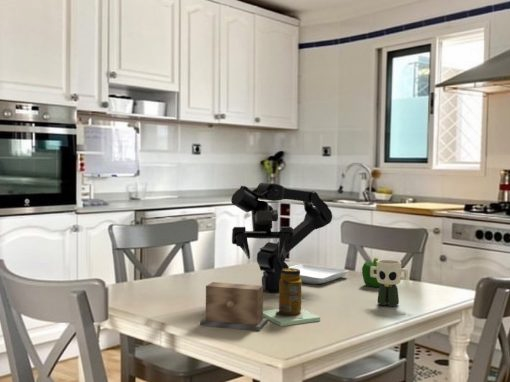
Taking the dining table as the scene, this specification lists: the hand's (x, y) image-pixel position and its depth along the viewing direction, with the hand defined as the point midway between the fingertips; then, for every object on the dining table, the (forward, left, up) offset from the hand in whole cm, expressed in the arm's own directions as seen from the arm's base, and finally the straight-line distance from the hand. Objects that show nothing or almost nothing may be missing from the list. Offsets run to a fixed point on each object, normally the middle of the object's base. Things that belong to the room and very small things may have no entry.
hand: (264, 257), depth 171 cm
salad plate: (-33, -25, -14) cm, 44 cm away
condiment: (+1, +17, -13) cm, 22 cm away
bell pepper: (-46, -5, -14) cm, 48 cm away
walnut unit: (+17, +17, -14) cm, 28 cm away
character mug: (-33, +18, -14) cm, 40 cm away
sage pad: (+1, +18, -14) cm, 22 cm away
